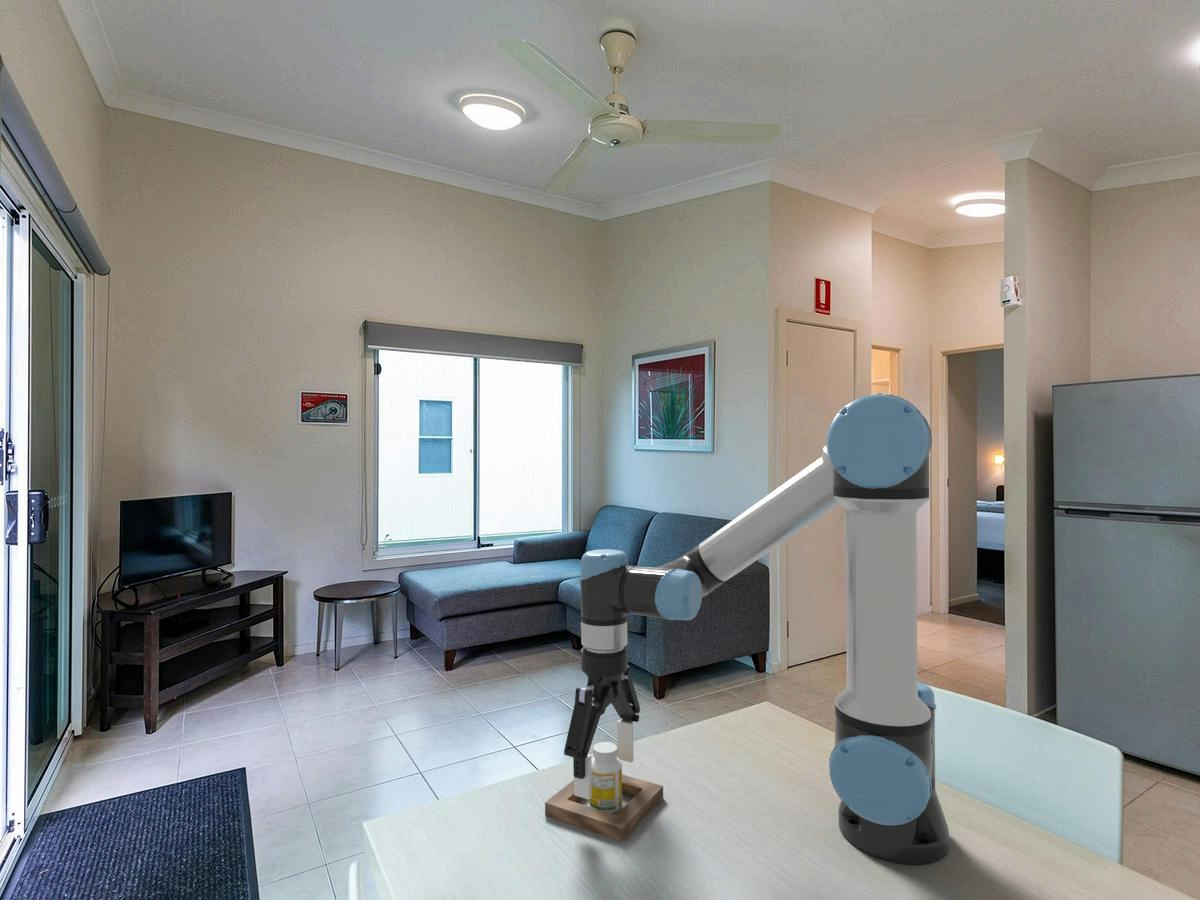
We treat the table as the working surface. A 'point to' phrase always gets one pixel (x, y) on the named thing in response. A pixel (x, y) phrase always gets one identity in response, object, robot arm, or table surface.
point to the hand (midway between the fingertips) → (605, 777)
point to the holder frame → (602, 822)
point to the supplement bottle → (606, 778)
